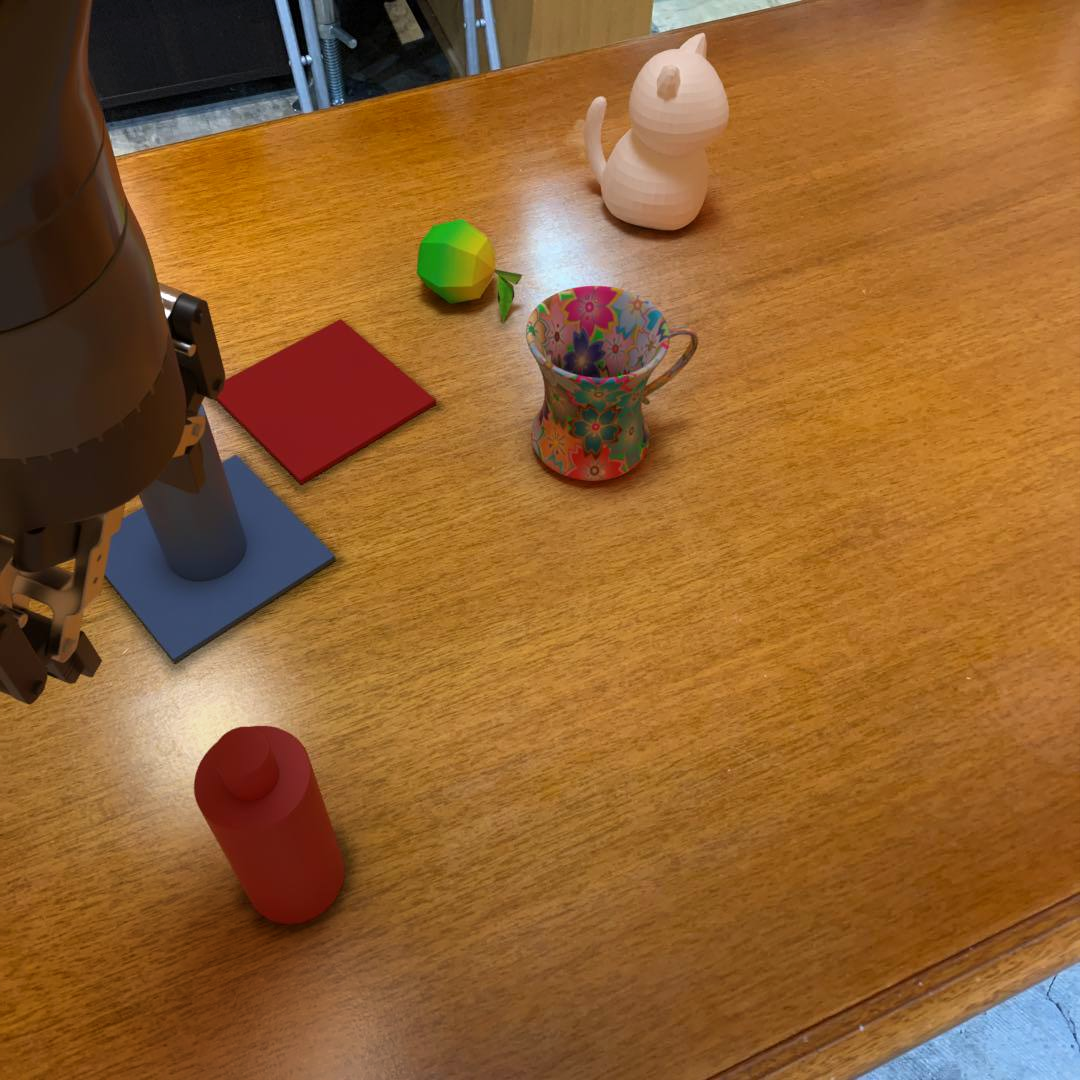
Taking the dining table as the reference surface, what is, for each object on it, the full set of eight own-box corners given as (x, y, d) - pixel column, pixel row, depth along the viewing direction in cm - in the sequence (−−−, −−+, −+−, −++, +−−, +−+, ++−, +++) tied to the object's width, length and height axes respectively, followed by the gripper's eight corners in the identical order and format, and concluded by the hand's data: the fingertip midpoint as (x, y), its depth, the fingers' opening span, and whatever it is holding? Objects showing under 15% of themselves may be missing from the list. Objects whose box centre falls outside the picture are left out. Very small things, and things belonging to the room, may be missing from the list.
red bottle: (282, 945, 56) (221, 831, 45) (228, 872, 58) (156, 746, 47) (364, 879, 58) (325, 755, 47) (308, 811, 60) (259, 677, 49)
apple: (411, 205, 83) (521, 230, 81) (440, 216, 89) (542, 239, 87) (393, 297, 85) (500, 324, 83) (422, 302, 91) (522, 327, 89)
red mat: (301, 484, 75) (299, 480, 75) (209, 393, 81) (207, 388, 80) (436, 404, 80) (435, 399, 80) (341, 323, 86) (340, 318, 85)
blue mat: (175, 663, 66) (172, 659, 66) (81, 547, 72) (78, 542, 71) (336, 560, 71) (335, 555, 71) (237, 458, 77) (235, 454, 76)
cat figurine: (689, 257, 92) (714, 89, 80) (557, 215, 95) (563, 48, 83) (728, 202, 97) (757, 36, 85) (601, 163, 100) (612, -1, 88)
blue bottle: (192, 594, 69) (127, 436, 57) (151, 546, 71) (80, 385, 60) (262, 551, 71) (212, 391, 60) (219, 506, 73) (164, 343, 62)
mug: (549, 506, 74) (553, 394, 66) (508, 414, 80) (507, 300, 71) (709, 466, 77) (732, 353, 69) (659, 379, 82) (674, 265, 74)
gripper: (32, 104, 32) (129, 396, 47) (-291, 496, 26) (-61, 693, 40) (267, 196, 32) (292, 460, 47) (3, 611, 26) (126, 767, 40)
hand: (128, 568), depth 43 cm, fingers open, 8 cm apart
